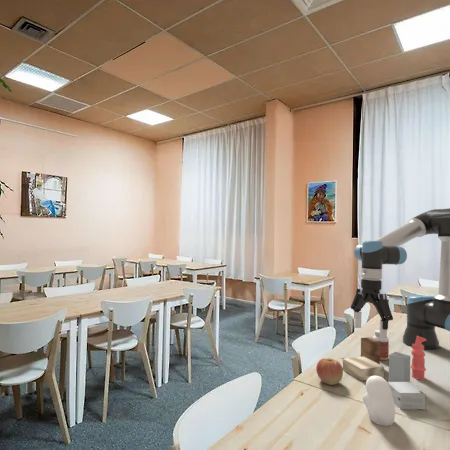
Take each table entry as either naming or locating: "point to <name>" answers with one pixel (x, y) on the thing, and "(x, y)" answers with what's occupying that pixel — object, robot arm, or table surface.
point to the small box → (407, 395)
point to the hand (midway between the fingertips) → (369, 332)
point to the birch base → (362, 367)
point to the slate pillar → (399, 367)
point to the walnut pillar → (370, 349)
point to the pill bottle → (382, 345)
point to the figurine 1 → (379, 401)
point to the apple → (329, 371)
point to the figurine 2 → (418, 359)
